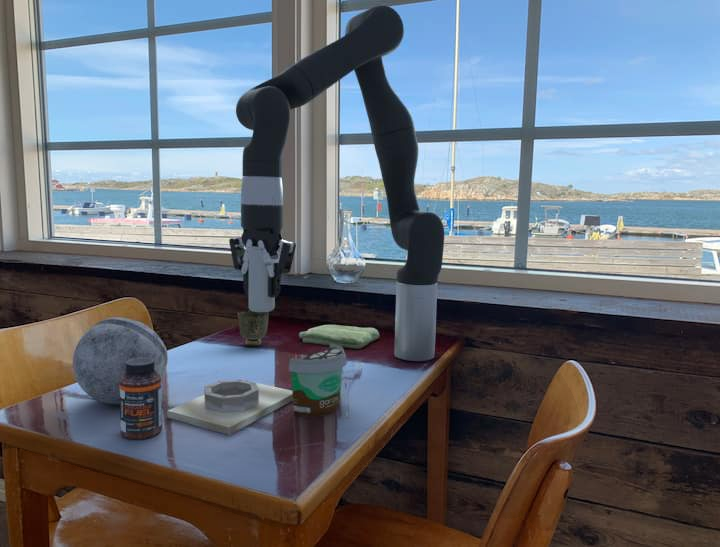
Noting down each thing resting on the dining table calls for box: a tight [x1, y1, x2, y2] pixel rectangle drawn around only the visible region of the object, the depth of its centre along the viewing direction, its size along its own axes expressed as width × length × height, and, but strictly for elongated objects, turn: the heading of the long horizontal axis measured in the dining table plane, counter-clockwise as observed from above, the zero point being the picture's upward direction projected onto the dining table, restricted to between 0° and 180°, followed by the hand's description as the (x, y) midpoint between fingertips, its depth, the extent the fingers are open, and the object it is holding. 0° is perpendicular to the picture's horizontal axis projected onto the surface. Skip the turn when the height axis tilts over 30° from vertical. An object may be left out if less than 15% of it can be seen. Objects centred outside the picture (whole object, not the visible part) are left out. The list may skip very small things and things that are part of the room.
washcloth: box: [298, 324, 380, 350], centre depth 141 cm, size 13×18×3 cm
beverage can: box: [248, 246, 276, 313], centre depth 103 cm, size 5×5×12 cm
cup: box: [236, 309, 270, 347], centre depth 134 cm, size 8×7×8 cm
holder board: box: [167, 378, 293, 436], centre depth 95 cm, size 18×13×4 cm
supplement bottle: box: [119, 357, 163, 440], centre depth 84 cm, size 6×6×11 cm
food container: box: [288, 343, 348, 418], centre depth 94 cm, size 12×6×10 cm, turn 148°
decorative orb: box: [72, 316, 169, 405], centre depth 96 cm, size 15×14×15 cm
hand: (261, 294), depth 103 cm, fingers closed on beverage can, 5 cm apart
